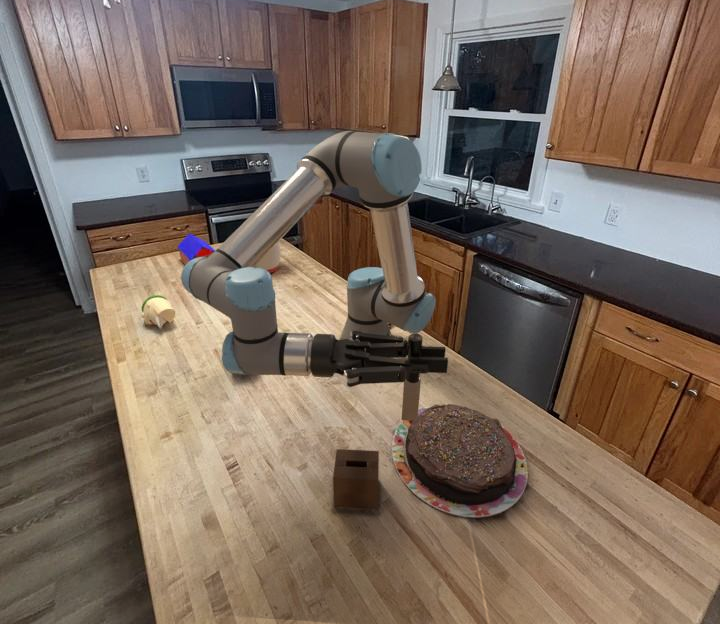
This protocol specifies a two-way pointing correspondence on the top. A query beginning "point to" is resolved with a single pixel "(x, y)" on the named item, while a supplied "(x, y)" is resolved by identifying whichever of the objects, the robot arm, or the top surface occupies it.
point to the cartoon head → (157, 310)
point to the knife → (412, 381)
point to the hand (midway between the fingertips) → (445, 359)
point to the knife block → (356, 479)
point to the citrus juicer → (271, 259)
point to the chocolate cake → (460, 461)
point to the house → (194, 249)
